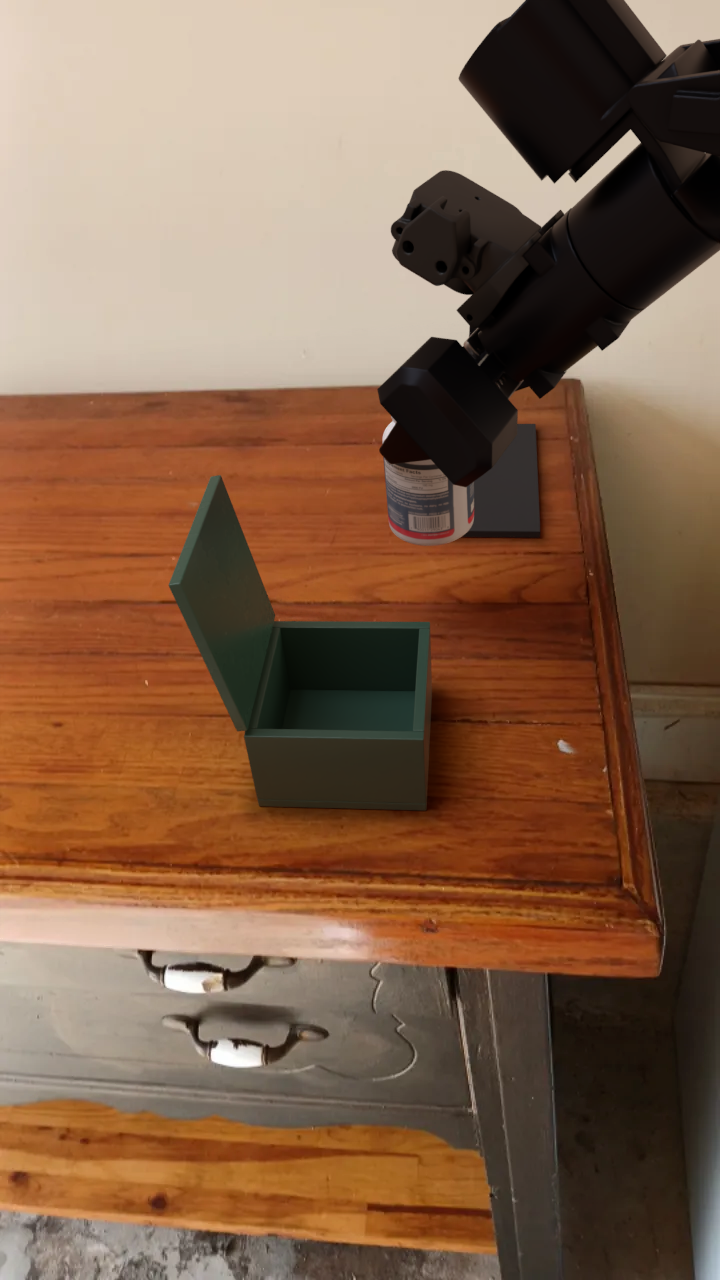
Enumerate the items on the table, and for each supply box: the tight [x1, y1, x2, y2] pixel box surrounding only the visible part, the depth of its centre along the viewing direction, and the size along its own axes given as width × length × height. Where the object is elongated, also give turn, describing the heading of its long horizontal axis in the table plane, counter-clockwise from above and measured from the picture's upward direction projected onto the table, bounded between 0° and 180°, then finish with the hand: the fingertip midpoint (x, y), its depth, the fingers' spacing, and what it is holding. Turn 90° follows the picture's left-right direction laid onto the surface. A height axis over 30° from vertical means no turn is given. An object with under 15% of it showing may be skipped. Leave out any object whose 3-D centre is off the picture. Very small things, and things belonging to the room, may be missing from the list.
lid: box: [168, 474, 276, 732], centre depth 49 cm, size 10×9×1 cm
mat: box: [461, 423, 541, 539], centre depth 76 cm, size 16×8×1 cm, turn 173°
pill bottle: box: [381, 415, 474, 547], centre depth 56 cm, size 5×5×9 cm
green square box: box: [243, 620, 433, 812], centre depth 54 cm, size 9×9×6 cm
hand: (406, 433), depth 56 cm, fingers closed on pill bottle, 5 cm apart
